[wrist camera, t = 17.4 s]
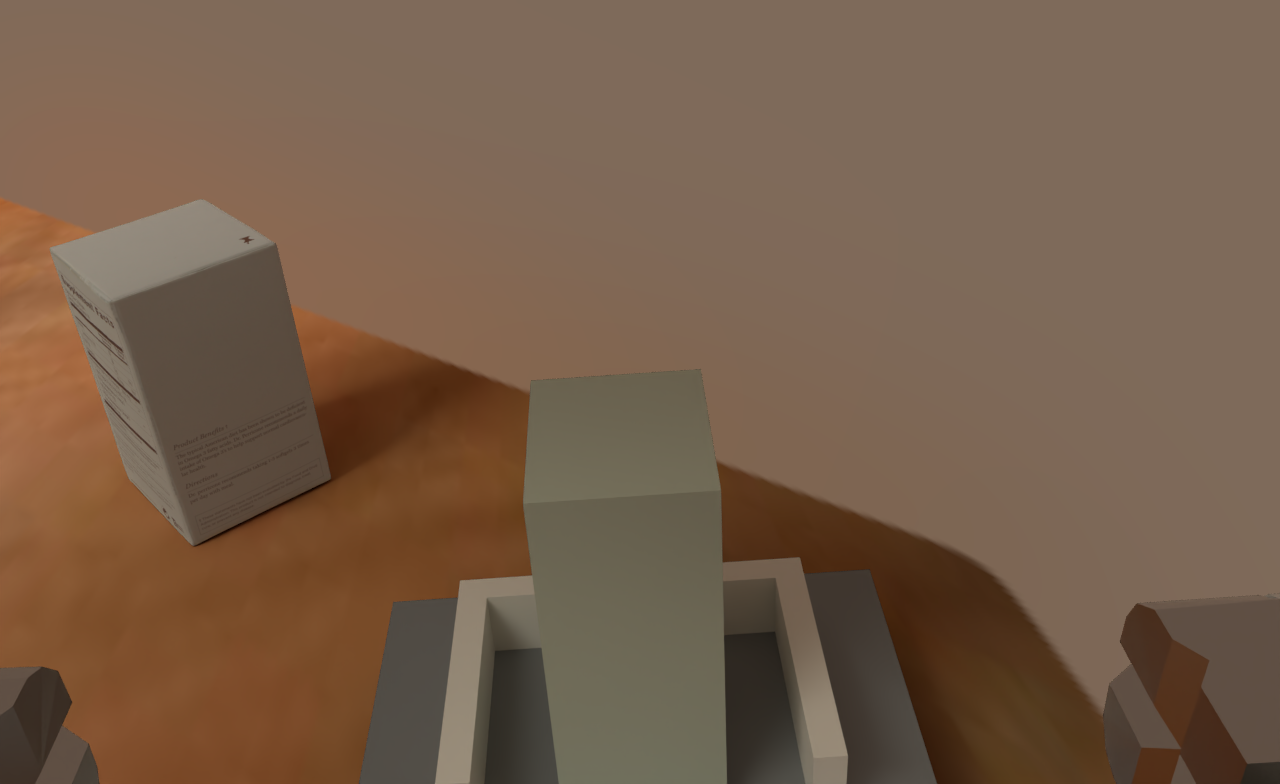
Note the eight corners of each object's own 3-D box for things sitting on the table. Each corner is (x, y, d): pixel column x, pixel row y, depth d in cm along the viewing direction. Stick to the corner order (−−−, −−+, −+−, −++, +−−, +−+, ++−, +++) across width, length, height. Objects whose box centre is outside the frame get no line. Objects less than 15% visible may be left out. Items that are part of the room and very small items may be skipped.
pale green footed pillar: (563, 819, 37) (523, 503, 31) (565, 676, 42) (530, 380, 36) (727, 808, 37) (720, 490, 31) (709, 666, 42) (700, 369, 36)
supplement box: (265, 422, 63) (206, 193, 56) (336, 482, 58) (280, 239, 51) (124, 482, 59) (43, 243, 52) (187, 552, 54) (107, 299, 47)
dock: (336, 1070, 34) (297, 950, 31) (405, 660, 47) (382, 550, 45) (981, 1023, 34) (1001, 900, 31) (865, 628, 48) (872, 516, 45)
